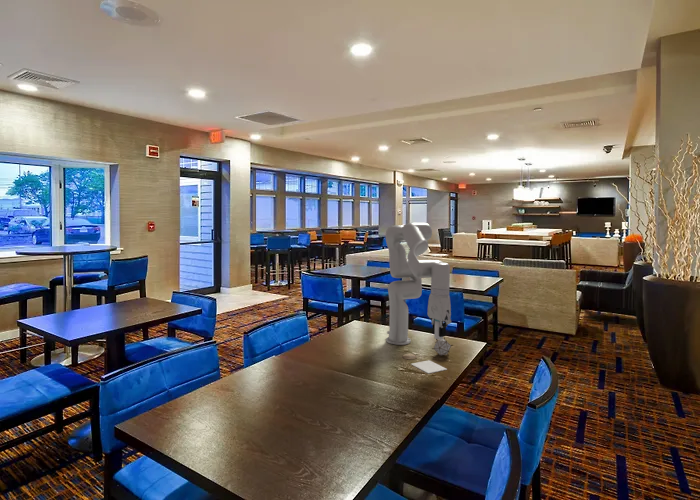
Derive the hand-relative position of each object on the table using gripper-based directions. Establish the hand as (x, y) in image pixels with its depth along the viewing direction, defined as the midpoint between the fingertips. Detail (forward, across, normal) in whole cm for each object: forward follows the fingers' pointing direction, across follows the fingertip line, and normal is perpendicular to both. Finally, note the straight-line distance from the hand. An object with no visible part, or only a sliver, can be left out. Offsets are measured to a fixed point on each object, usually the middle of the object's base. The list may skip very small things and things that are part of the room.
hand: (438, 334), depth 174 cm
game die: (+15, -13, +13) cm, 24 cm away
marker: (+2, 0, 0) cm, 2 cm away
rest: (+15, -18, -2) cm, 23 cm away
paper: (+15, -4, -2) cm, 16 cm away
